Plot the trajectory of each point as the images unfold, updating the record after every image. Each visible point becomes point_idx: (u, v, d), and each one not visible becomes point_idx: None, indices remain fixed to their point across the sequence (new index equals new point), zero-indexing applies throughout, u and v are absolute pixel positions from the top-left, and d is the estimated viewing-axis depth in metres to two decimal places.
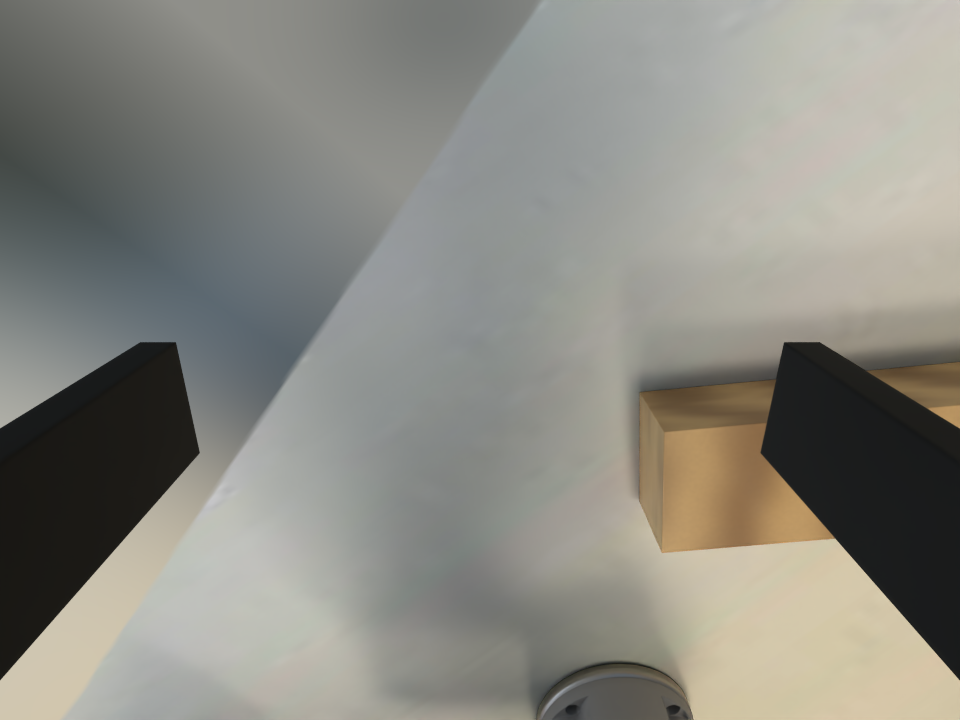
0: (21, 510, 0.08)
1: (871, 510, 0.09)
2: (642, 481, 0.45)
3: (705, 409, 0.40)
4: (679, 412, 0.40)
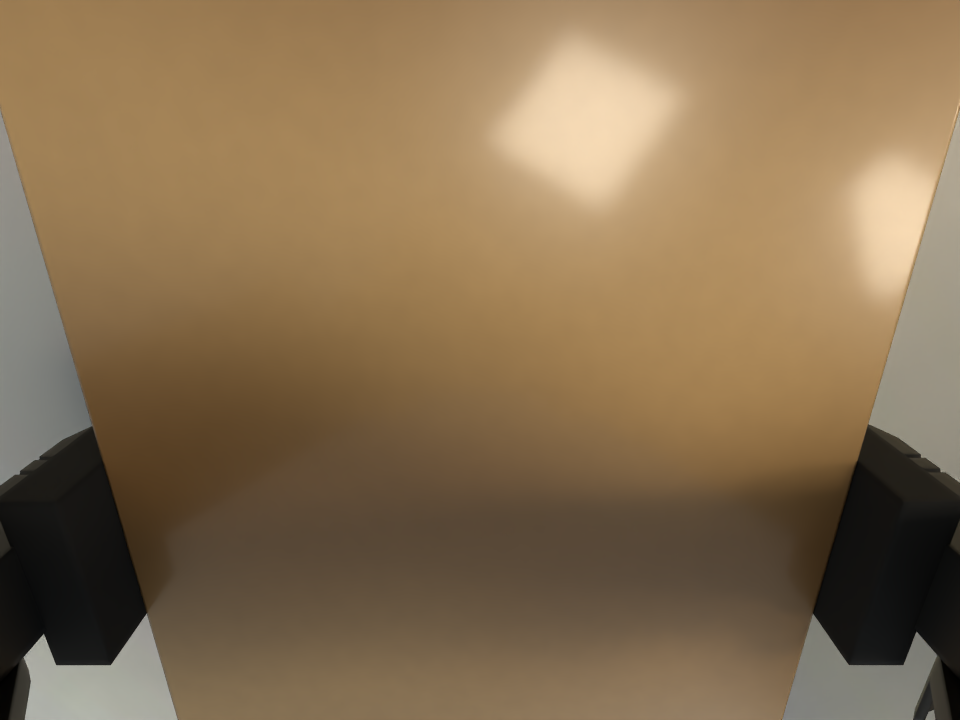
0: None
1: None
2: None
3: None
4: None
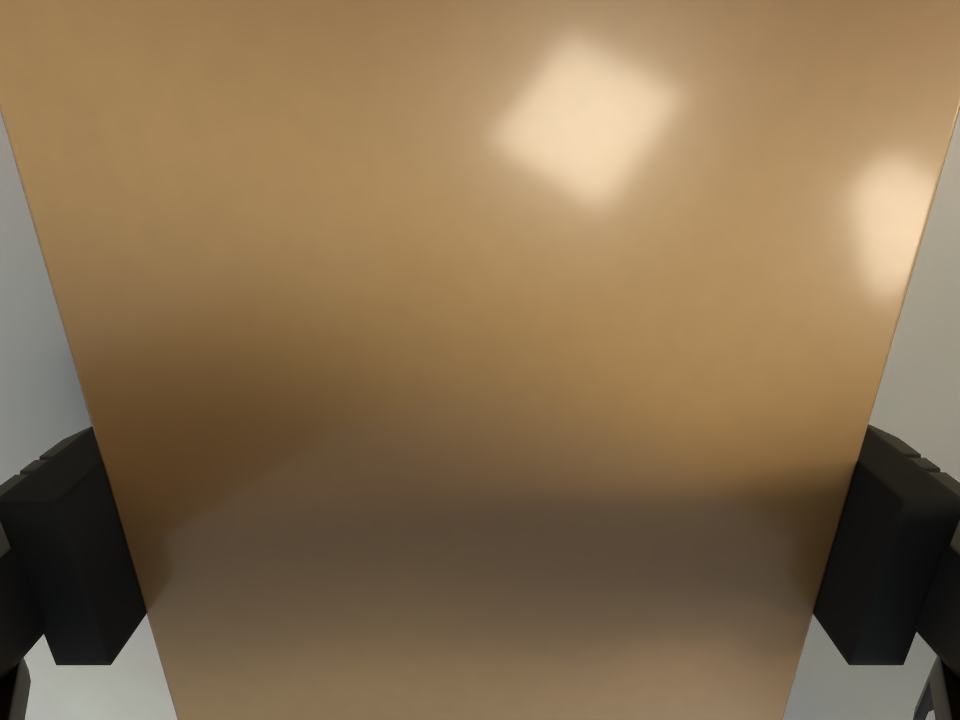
0: None
1: None
2: None
3: None
4: None
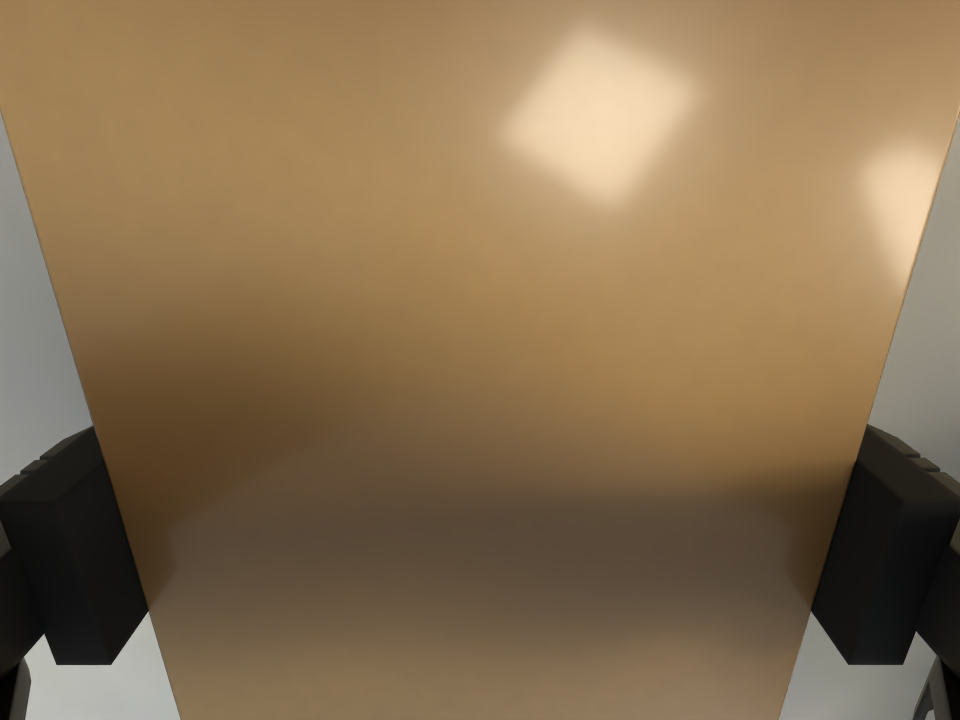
0: None
1: None
2: None
3: None
4: None
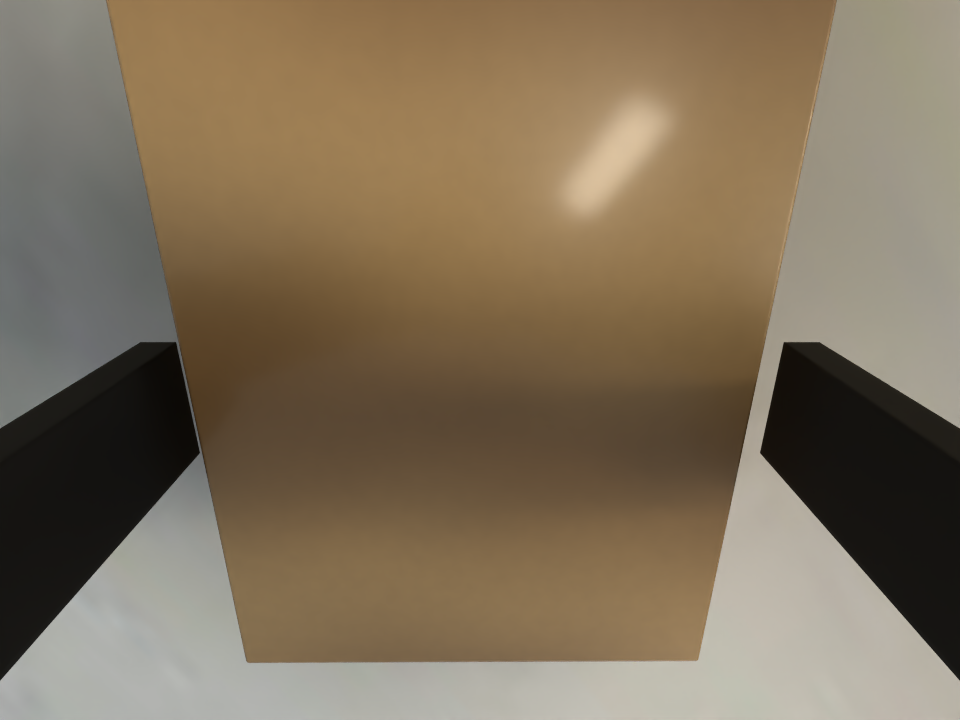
0: (22, 510, 0.08)
1: (871, 510, 0.09)
2: None
3: None
4: None
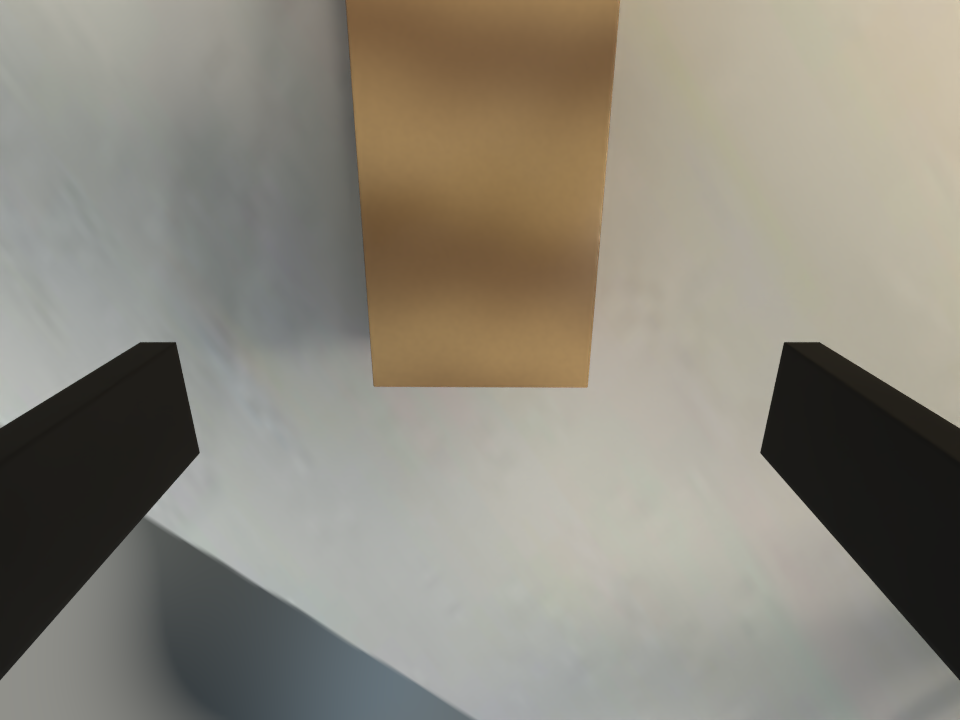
0: (22, 510, 0.08)
1: (871, 510, 0.09)
2: None
3: None
4: None
